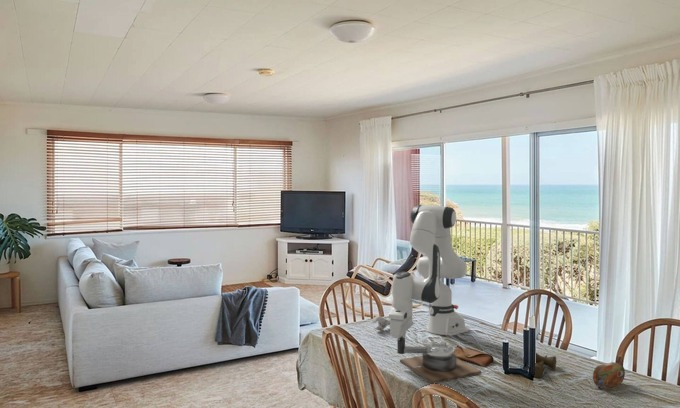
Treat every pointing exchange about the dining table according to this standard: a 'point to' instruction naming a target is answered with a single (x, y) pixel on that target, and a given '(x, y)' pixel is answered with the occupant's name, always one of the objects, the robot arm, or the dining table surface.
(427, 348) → the grey crank handle
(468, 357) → the sunglasses case
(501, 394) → the dining table surface
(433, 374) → the square wooden board
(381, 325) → the wrench
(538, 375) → the kendama
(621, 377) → the mottled orange oval
